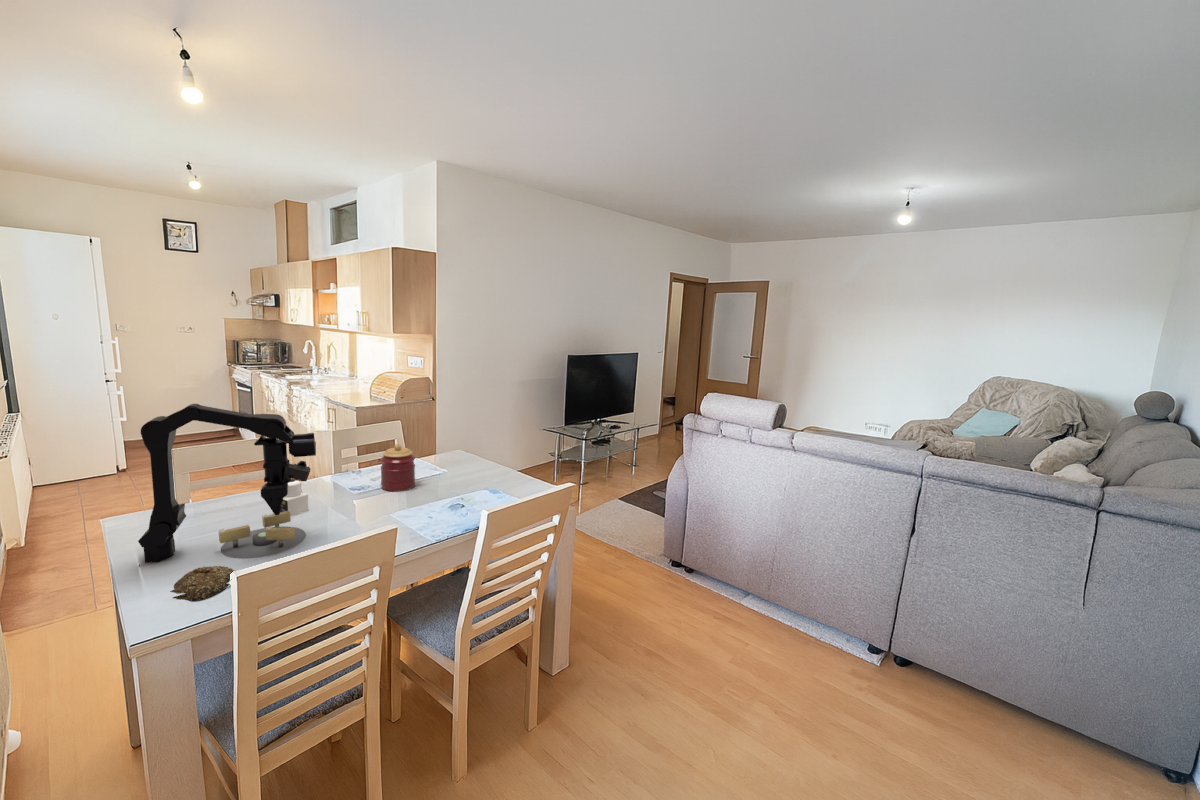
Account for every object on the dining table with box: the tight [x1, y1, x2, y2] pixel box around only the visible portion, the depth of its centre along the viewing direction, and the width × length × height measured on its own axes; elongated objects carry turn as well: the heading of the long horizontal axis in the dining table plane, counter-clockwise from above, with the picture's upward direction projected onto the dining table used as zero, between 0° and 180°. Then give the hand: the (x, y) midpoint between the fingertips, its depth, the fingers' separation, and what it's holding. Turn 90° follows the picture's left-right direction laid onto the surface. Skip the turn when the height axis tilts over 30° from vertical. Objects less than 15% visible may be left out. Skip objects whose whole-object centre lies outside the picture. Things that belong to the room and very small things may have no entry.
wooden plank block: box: [261, 511, 292, 528], centre depth 152 cm, size 2×7×6 cm, turn 139°
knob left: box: [217, 524, 251, 548], centre depth 141 cm, size 2×7×6 cm, turn 137°
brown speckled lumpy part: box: [169, 565, 235, 602], centre depth 123 cm, size 13×12×5 cm
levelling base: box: [220, 525, 307, 560], centre depth 145 cm, size 21×21×4 cm
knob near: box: [265, 526, 296, 548], centre depth 142 cm, size 2×7×6 cm, turn 97°
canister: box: [380, 443, 416, 492], centre depth 198 cm, size 13×13×18 cm
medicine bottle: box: [280, 478, 309, 517], centre depth 167 cm, size 7×7×12 cm
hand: (278, 509), depth 145 cm, fingers open, 9 cm apart
